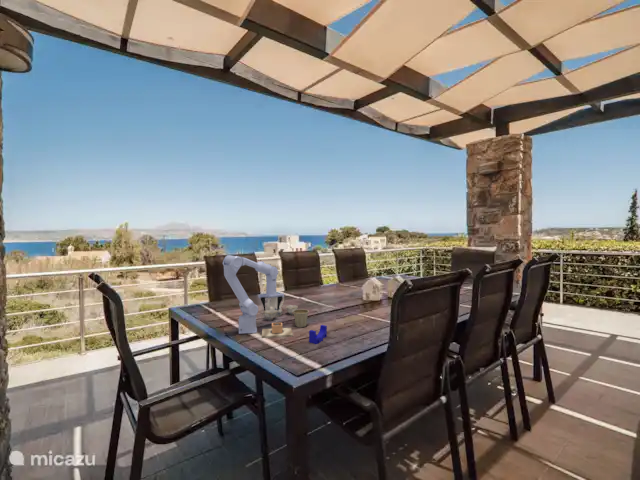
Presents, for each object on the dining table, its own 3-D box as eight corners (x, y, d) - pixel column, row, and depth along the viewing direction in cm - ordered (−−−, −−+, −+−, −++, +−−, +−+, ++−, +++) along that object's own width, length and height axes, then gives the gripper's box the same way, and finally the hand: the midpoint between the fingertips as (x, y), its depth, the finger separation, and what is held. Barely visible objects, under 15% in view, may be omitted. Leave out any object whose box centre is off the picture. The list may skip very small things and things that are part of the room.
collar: (271, 333, 174) (271, 325, 174) (271, 330, 180) (271, 322, 180) (282, 332, 175) (282, 325, 175) (282, 329, 181) (282, 322, 180)
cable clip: (316, 344, 162) (316, 332, 162) (309, 342, 165) (309, 330, 164) (329, 337, 172) (329, 326, 172) (321, 336, 175) (321, 324, 175)
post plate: (261, 338, 171) (261, 327, 170) (262, 330, 182) (262, 320, 182) (292, 336, 173) (292, 326, 173) (291, 329, 185) (291, 319, 185)
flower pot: (294, 329, 186) (294, 313, 185) (291, 324, 195) (291, 309, 194) (310, 327, 188) (310, 312, 188) (306, 323, 197) (306, 308, 197)
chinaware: (270, 325, 197) (272, 298, 195) (252, 318, 207) (254, 292, 206) (301, 315, 219) (303, 291, 217) (283, 309, 229) (285, 286, 228)
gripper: (258, 288, 185) (258, 312, 185) (284, 287, 188) (284, 311, 188) (258, 286, 191) (258, 309, 192) (283, 285, 195) (283, 308, 195)
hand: (271, 310), depth 191 cm, fingers open, 7 cm apart
